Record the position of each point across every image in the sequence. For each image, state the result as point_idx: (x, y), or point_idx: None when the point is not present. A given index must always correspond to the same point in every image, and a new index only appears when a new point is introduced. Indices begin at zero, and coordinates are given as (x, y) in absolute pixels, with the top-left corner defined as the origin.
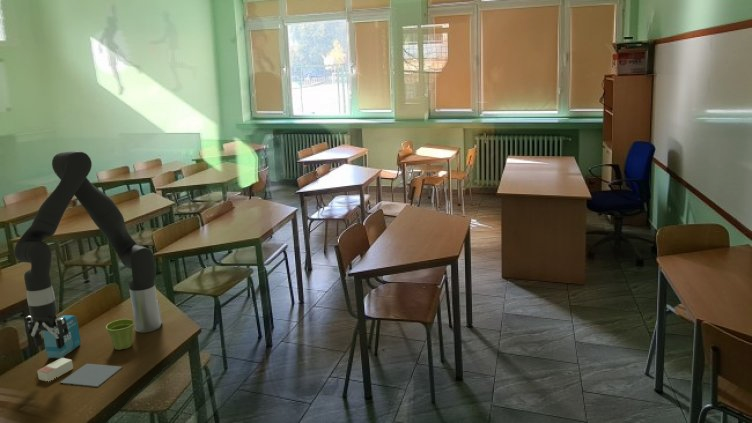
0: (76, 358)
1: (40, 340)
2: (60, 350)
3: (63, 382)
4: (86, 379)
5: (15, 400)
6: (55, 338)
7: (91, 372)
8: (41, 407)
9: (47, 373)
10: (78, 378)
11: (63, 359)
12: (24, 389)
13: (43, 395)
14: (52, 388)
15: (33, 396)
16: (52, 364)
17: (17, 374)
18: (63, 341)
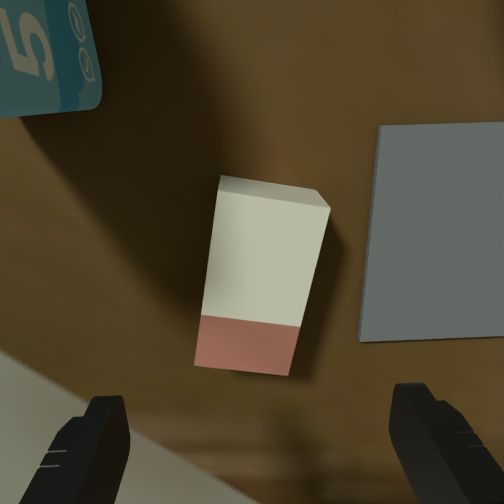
0: (228, 52)
1: (105, 451)
2: (75, 64)
3: (379, 339)
4: (497, 293)
5: (250, 468)
6: (6, 100)
7: (487, 224)
8: (405, 479)
9: (287, 371)
10: (442, 294)
11: (257, 215)
12: (211, 407)
13: (348, 423)
14: (348, 377)
15: (307, 436)
16: (233, 290)
17: (20, 313)
18: (483, 456)
